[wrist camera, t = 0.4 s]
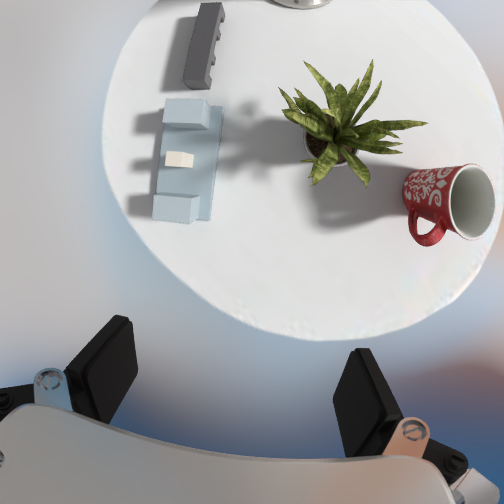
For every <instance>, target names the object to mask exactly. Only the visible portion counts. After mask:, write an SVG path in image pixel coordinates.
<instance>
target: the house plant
mask: <svg viewBox="0 0 504 504" xmlns="http://www.w3.org/2000/svg"><path fill="white" fill-rule="evenodd" d="M304 63H305V64H306V66H307V67H308V69H309V70H310V72H311V73H312V75H313V76H314V77H315V79H316V80H317V82H318V83H319V85H320V86H321V87H322V89H323V91H324V93H325V95H326V99H327V103H328V107H329V109H322V110H321V109H320V108H319V107H318V106H317V105H316V104H315V103H314V102H313V101H311V100H308V99H307V98H306V97H305V96H304V95H303V94H302V93H301V92H300V91H299V90H297V89H295V90H296V92H297V94H298V95H299V97H300V98H295V97H293V98H294V99H295V102H296V104H295V103H294V102H293V100H292V99H291V98H290V97H289V96H288V95H287V94H286V93H285V92H284V91H283V90H282V89H280V88H279V87H278V88H279V89H280V92H281V94H282V96H283V97H284V98H285V100H286V101H287V103H288V105H289V108H290V109H284V110H282V111H283V113H284V115H285V117H286V118H287V119H289V120H290V121H292V122H294V123H297V124H299V125H300V126H301V127H302V128H303V129H304V135H303V138H304V144H305V149H306V151H307V153H308V154H309V155H310V156H311V157H312V158H314V159H307V160H303V161H300V162H313V163H314V165H313V168H312V172H311V174H310V176H309V177H308V178H310V177H313V183H312V185H311V186H313V185H315V184H316V183H318V182H319V181H320V180H322V179H323V178H324V177H325V176H326V175H327V174H328V173H329V172H330V171H331V169H332V168H333V167H340V166H343V165H346V164H348V165H349V166H350V168H351V169H352V170H353V171H354V172H355V174H356V175H357V176H358V177H359V178H360V179H361V180H362V181H363V182H364V183H365V185H366V187H367V185H368V183H369V181H370V173H369V170H368V169H367V167H366V166H365V165H364V164H363V163H362V161H361V160H360V159H359V158H358V157H357V156H356V155H357V154H358V151H359V150H364V151H368V152H371V153H376V154H397V153H403V152H400V151H397V150H391V149H389V148H386V147H391V146H397V145H400V144H403V143H398V142H389V141H378V140H380V139H381V138H384V137H385V136H386V135H389V136H392V137H395V138H399V137H398V136H396V135H395V134H393V133H392V132H390V131H392V130H404V129H408V128H411V127H414V126H423V125H425V124H427V123H426V122H421V121H412V120H397V121H379V120H372V121H369V122H367V123H364V124H361V125H358V126H356V123H357V121H358V120H359V119H360V118H361V116H362V115H363V113H364V112H365V111H366V110H367V109H368V108H369V107H370V105H371V104H372V103H373V102H374V101H375V99H376V98H377V96H378V94H379V90H380V88H381V85H382V80H381V82H380V83H379V85H378V86H377V88H376V89H375V91H374V92H373V94H372V95H371V97H370V98H369V99H368V101H367V102H366V103H365V104H364V105H363V106H362V108H361V109H360V111H359V112H358V113H357V115H356V116H355V117H354V119H353V120H352V117H353V115H354V113H355V111H356V109H357V107H358V106H359V104H360V102H361V101H362V99H363V98H364V96H365V94H366V93H367V91H368V89H369V87H370V83H371V77H372V71H373V60H372V61H371V64H370V66H369V67H368V70H367V72H366V74H365V76H364V78H363V80H362V82H361V84H360V86H359V88H358V85H359V78H358V80H357V81H356V82H355V84H354V86H353V87H352V88H351V90H350V92H349V93H348V95H347V91H346V89H345V88H344V87H343V86H342V85H341V84H338V85H337V86H336V87H335V90H334V89H333V87H332V85H331V83H329V82H328V81H327V80H326V79H325V78H324V77H323V76H322V75H321V74H319V73H318V72H317V70H316V69H315V68H313V67H312V66H311V65H310V64H308V63H306V62H305V61H304ZM357 88H358V90H357ZM296 105H297V106H298V107H297V106H296ZM298 108H299V109H300V110H302V111H303V112H304V113H306V114H302V113H301V111H300V110H299V109H298ZM428 124H429V123H428ZM309 187H310V186H309Z"/></svg>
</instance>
